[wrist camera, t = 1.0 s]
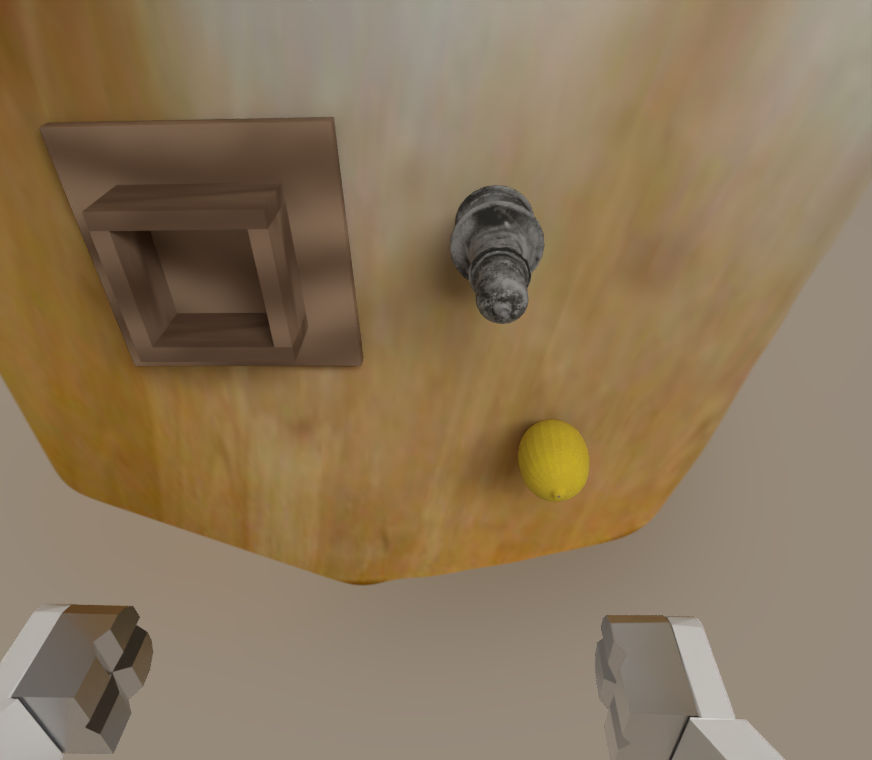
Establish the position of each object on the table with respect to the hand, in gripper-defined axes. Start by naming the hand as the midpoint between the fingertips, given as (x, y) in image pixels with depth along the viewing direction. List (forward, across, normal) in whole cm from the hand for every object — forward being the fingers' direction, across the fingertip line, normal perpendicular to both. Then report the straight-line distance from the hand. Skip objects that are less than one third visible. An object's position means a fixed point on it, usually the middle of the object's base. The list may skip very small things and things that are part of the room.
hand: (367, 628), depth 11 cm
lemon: (+34, -9, +24) cm, 42 cm away
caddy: (+34, +15, +8) cm, 38 cm away
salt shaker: (+34, -4, +6) cm, 34 cm away
